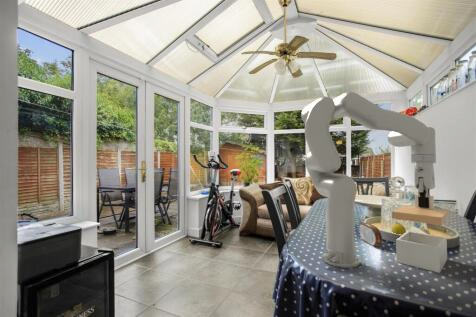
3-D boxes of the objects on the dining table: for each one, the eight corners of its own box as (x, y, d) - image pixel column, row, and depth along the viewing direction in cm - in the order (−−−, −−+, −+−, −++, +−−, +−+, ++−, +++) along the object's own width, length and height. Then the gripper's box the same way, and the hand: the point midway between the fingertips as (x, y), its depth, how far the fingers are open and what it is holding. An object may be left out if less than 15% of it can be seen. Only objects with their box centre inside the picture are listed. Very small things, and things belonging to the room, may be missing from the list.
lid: (441, 225, 76) (440, 201, 76) (391, 218, 86) (391, 197, 86) (449, 216, 88) (448, 196, 88) (404, 211, 98) (404, 193, 98)
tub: (439, 272, 77) (439, 247, 77) (396, 261, 86) (395, 239, 86) (447, 259, 87) (446, 237, 88) (407, 250, 96) (407, 231, 97)
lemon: (404, 239, 110) (403, 222, 111) (408, 243, 105) (407, 225, 106) (390, 238, 112) (389, 221, 113) (393, 242, 107) (393, 224, 107)
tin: (383, 249, 98) (382, 228, 99) (375, 249, 98) (375, 228, 99) (364, 238, 113) (364, 220, 114) (357, 238, 114) (357, 220, 114)
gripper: (431, 159, 84) (433, 211, 83) (439, 159, 94) (440, 206, 94) (406, 159, 89) (407, 208, 89) (416, 159, 100) (417, 203, 99)
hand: (424, 207), depth 91 cm, fingers closed
